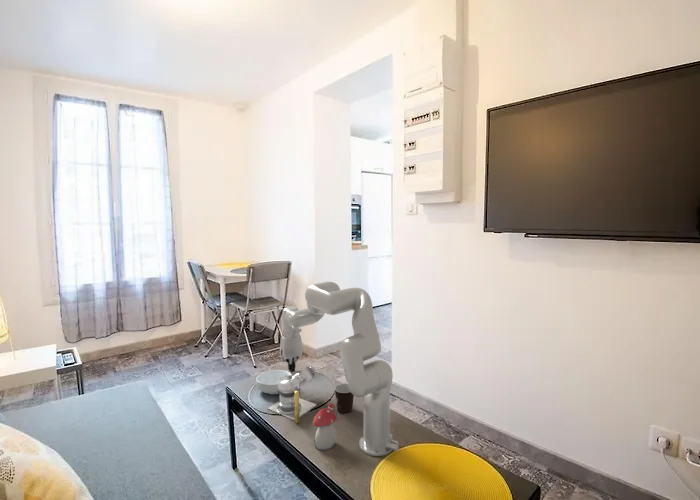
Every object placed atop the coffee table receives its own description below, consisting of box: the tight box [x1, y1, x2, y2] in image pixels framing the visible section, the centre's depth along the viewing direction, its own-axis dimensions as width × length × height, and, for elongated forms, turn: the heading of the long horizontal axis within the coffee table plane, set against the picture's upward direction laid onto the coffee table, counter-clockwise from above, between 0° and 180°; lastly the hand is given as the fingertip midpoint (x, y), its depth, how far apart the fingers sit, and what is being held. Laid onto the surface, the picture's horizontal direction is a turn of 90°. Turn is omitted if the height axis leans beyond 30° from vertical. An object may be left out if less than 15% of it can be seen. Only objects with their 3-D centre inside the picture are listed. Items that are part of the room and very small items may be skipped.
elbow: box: [277, 366, 317, 396], centre depth 162 cm, size 20×9×6 cm, turn 146°
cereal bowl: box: [255, 369, 292, 395], centre depth 176 cm, size 17×17×7 cm
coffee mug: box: [334, 382, 355, 415], centre depth 159 cm, size 12×9×10 cm
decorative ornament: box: [312, 402, 338, 451], centre depth 133 cm, size 9×6×15 cm
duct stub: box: [267, 390, 318, 424], centre depth 158 cm, size 16×19×14 cm
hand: (291, 370), depth 173 cm, fingers closed
